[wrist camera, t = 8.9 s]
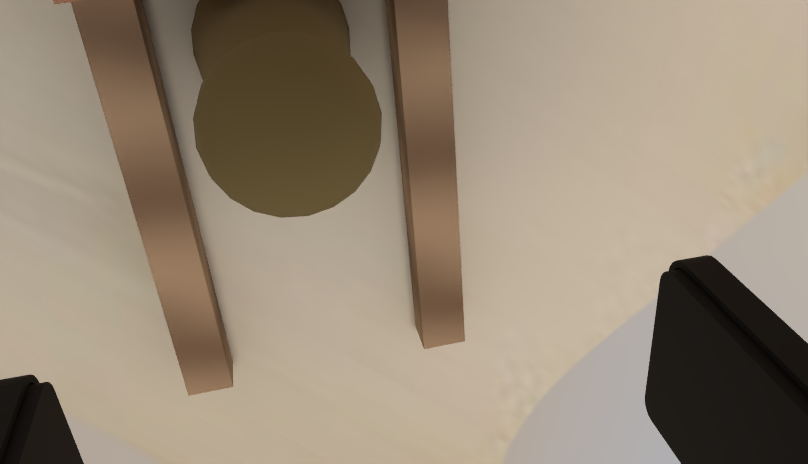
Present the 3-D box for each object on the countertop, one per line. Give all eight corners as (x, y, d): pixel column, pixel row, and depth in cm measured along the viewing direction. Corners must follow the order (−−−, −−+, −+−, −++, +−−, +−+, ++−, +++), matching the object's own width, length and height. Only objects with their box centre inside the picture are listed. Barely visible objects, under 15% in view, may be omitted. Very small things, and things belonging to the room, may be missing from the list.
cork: (156, 42, 28) (122, 157, 19) (266, -78, 27) (288, -20, 17) (276, 144, 31) (299, 287, 22) (380, 39, 30) (452, 143, 20)
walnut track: (49, -114, 25) (21, -102, 22) (427, -153, 27) (456, -148, 23) (190, 370, 36) (186, 429, 32) (454, 319, 37) (477, 370, 34)
